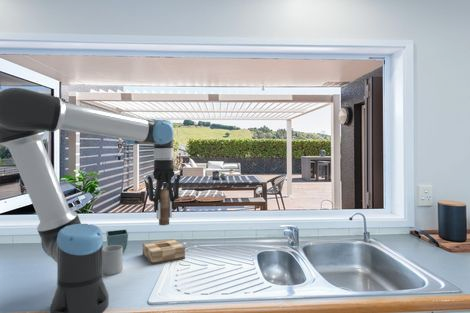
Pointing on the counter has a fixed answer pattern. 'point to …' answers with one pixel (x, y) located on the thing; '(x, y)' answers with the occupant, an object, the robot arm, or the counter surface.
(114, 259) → the cup
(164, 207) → the pin
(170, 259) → the socket block
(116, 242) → the flower pot
